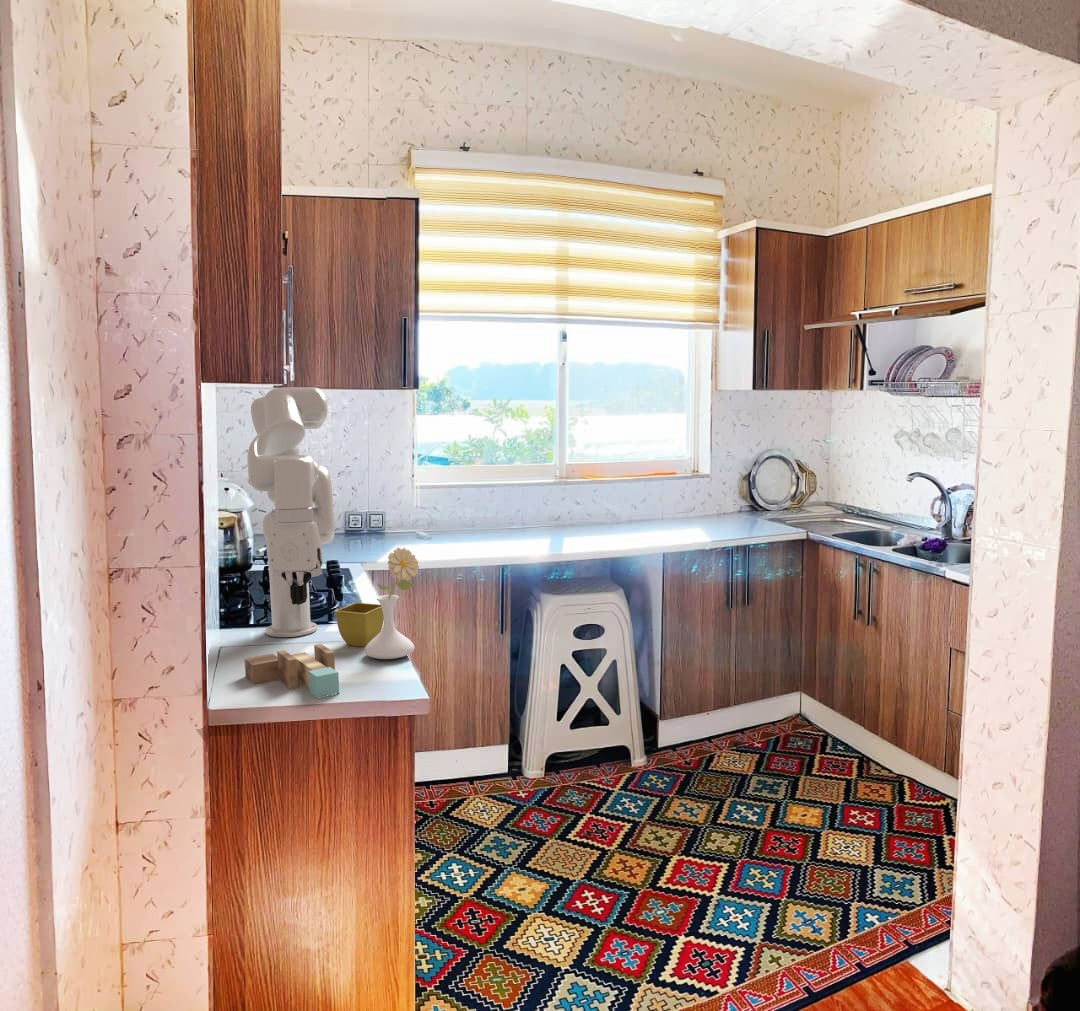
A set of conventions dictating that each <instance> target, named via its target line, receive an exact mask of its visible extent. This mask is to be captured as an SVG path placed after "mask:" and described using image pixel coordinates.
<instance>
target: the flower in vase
mask: <svg viewBox="0 0 1080 1011" xmlns="http://www.w3.org/2000/svg"><path fill="white" fill-rule="evenodd" d="M387 559H388V560H387V564H388V570H389V571H390V573H391V574H393V576H394V578H396V580H395V583H394V585H393V586H392V588H391V587H389V586H385V585H382V584H380V583H377V587H378V588H379V589H380V590H385V591H389V594H384V595H379V596H377V597H376V600H377V601H378V602H379V603H378V604H379V605H381V607H382V611H383V618H384V620H383V627H382V630H381V632H380V633H379V634H378V635H377V636H376V637H375V638H373V639H372V640H371V641H370V642H369V643H368V644H367V646H365V647H364V653H365V654H366V656H367V657H370V658H374V659H376V660H377V659H378V660H393V659H400V658H403V657H406V656H408V655H410V654H412V653H413V652H414V651H415V649H416V648H415V645H414V643H413V642H412V641H411V640H410V639H409V638H408V637H406V636H405V635H403V634H402V633H401V632H399V631H398V630H397V629H396V627H395V624H394V623H395V621H394V613H395V612H394V610H395V606H396V603H397V601H398V600H399V598H400V597H399V595H395V594H392V593H393V592H394V590H395V588H396V587H398V588H399V589H400V590H401V591H408V590H409V589H412V588H413V587H414V584H413V583H412V582H411V581H410V580H411V579H412V577H413V578H414V577H416V575H418V574H419V571H418V569H419V568H420V566H419V565H418V564H419V561H418V558H416V556H415V555H414V554H412V551H411V550H410V549H406V548H405V547H403V548H400V547H396V549H394V550H393V552H390V553H389V554H388V557H387ZM399 579H400V580H399ZM398 580H399V581H398Z"/></svg>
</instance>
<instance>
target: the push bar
mask: <svg viewBox="0 0 1080 1011" xmlns="http://www.w3.org/2000/svg"><path fill="white" fill-rule="evenodd" d="M291 655H292V656H293V657H294V658H296V661H297V680H299V681H300V682H302V683H303V684H304V685H306V686H307V687H308V688H309V671H312V670H317V669H322V668H327V667H326V666H324V665H323V664H321V663H320V662H318V661H317V660H315V657H312V656H311V655H309V654H308V653H307V652H300V653H294V654H291Z"/></svg>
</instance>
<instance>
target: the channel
mask: <svg viewBox="0 0 1080 1011" xmlns="http://www.w3.org/2000/svg"><path fill="white" fill-rule="evenodd" d="M313 647H314V650H313V651H314V659H315V660H317V661H318V662H320V663H321V664H323V665H324V666H326V667H331V668H333V669H334V670H336V662H335V660H336V659H335V652H334V651H333V650H331V649H330V648H329V647H326V646H325V645H324V644H322V643H318V644H314V645H313ZM276 654H277V655H276V656H277V658H278V677H279V679H278V680H279V681H280V682H282V683H283V684H284V685H285V686H286V687H287V688H289V689H292V690H293V689H297V688H299V685H298V683H299V682H298V680H299V679H298V678H297V661H296V658H294V657H293V656H292V655H293V654H290V653H289V652H288V651H286V650H284V649H283V650H278V651H277V652H276Z"/></svg>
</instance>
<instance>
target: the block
mask: <svg viewBox="0 0 1080 1011" xmlns="http://www.w3.org/2000/svg"><path fill="white" fill-rule="evenodd" d="M339 676H340V675H339V671H337V670H336V669H335V670H334V669H333V668H331V667H327V668H322V669H317V670H312V671H309V687H308V688H309V694H311V693H312V694H313V695H312V694H311V695H312V696H314V697H315V696H316V697H322V698H324V697H323V696H327V695H331V696H333V695H332V694H335V693H339V694H340V685H339V684H340V681H339ZM316 697H315V698H316ZM327 697H328V696H327Z"/></svg>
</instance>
